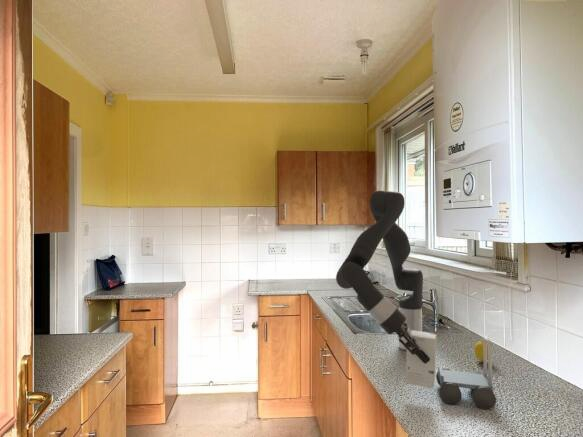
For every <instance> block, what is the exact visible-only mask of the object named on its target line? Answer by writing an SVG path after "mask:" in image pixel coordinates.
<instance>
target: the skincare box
mask: <svg viewBox="0 0 583 437" xmlns="http://www.w3.org/2000/svg"><path fill="white" fill-rule="evenodd" d="M408 335H409V334H408ZM411 335H412V336H413V337H414V339H415V340H416V341H417V344H418V346H419V347H420V348H421V349H422V350H423V351H424V352H425V354H426V355H427V356H428V357H429V358H430V361H428V362H427V363H426V364H424V363H423V362H422V361H421V360H420V359H419V358H418V356H417V355H416V354H414V355H413V354H411V352H410V351H409V350H408V349H407V351H406V352H405V353H406V357H405V358H406V359H405V379H404V380H405V381H404V382H405V384H407V385H413V386H419V387H424V388H428V389H434V386H435V378H436V372H435V371H436V355H437V354H436V353H437V350H436V349H437V333H432V332H427V331H423V330H422V331H414V330H411ZM411 341H413V340H412V338H411ZM412 348H413V349H414V348H415V347H414V346H412Z"/></svg>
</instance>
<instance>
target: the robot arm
mask: <svg viewBox="0 0 583 437" xmlns="http://www.w3.org/2000/svg"><path fill="white" fill-rule="evenodd" d="M369 208H370V211H371V214H372V216H373V219H374V221H375V223H374V224H372V225H371V226H369V227H367V229H365V230H364V231H362V233H360V235H359V236H358V237H357V238H356V240H355V242H354V244H353V246H352V247H351V249H350V251H349V254H348V255H347V256H346V258H345V259H344V261H343V262H342V265H341V266H340V267H339V269H338V271H337V272H336V275H335V280H336V283H337V285H338V286H339V287H340V288H341V289H346V290H347V289H348V290H349V289H353V290H354V292H355V293H356V295H357V296H356V299H357V301H358V303H359V304H360V305H361V306H362V307H363V308H364V309H365V310H366V311H367V312H368V314H369V315H370V316H371V318H372V319H373V320H374V321H376V323H377V324H378V325H379V326H380V327H381V328H382V329H383V331H384V332H386V334H387V335H392V334H394V333H395V334H396V335H397V338H398V346H399V349H401V350H403V351H406V352H407V349H408V350H409V351H410V352H411V354H413V355H414V354H416V355H417V356H418V358H419V359H420V360H421V361H422V362H423V363H424V364H426V363H427V362H428V361H430V358H429V357H428V356H427V355H426V354H425V352H424V351H423V350H422V349H421V348H420V347H419V346H418V344H417V341H416V340H415V339H414V337H413V336H412V335H411V330H414V331H422V332H423V288H424V286H423V285H424V276H423V271H422V270H421V269H418V268H416V269H415V268H404V267H403V265H404V264H405V261H406V260H408V257H409V256H410V254H411V249H412V248H411V244H410V240H409V236H408V235H407V232H405V231H404V229H403V228H402V227H400V226H399V224H397V223H396V222H397V221H398V219H399V218H400V216H401V215H402V213H403V212H404V208H405V197H404V195H403V194H402V193H401V192H398V191H389V190H374V191H373V192H372V193H371V195H370V198H369ZM382 240H383V245H384V247H385V250H386V253H387V256H388V258H389V259H388V260H389V262H390V265H391V268H392V269H391V270H392V274H393V280H394V284H395V287H396V288H397V289H398V290H401V291H408V292H412V294H411V295H410V296H407V297H403V298H402V297H401V298H400V299H399V301H398V307H397V306H395V304H393V302H392V301H391V300H390V299H388V298H387V297H386V296H385V295H384V294H383V293H382V292H381V291H380V290H379V289H378V288H377V287H376V286H375V284H374V282H373V281H372V280H371V278H370V277H369V275H368V273H367V272H366V270H365V269H364V268H365V267H366V266H367V265H368V263H370V261H371V260H372V258H373V255H374V254H375V252H376V251H377V248H378V246H379V245H380V243H381V241H382ZM408 334H409V335H408ZM411 338H412V340H413V341H411ZM412 346H414V347H415V348H414V349H413V348H412Z"/></svg>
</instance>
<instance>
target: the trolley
mask: <svg viewBox="0 0 583 437" xmlns="http://www.w3.org/2000/svg"><path fill="white" fill-rule="evenodd" d="M482 337H483V340H482V341H483V362H482V363H483V364H482V365H483V373H482V372H480V371H471V372H468V371H457V370H453V369H451V368H447V367H444V368H443V367H442V364H438V365H437V366H438V367H437V369H438V370H437V372H436V373H435V378H436V382H437V384H438V385H439V389H438V393H439V397H440V399H441V400H442V402H443V403H445V404H447V405H450V406H455V405H457V404H459V403H460V402H461V400H462V398H463V397H462V391H461V389H469V390H471V391H472V392H471V398H472V400H473V403H474V404H475V406H476V407H478V408H479V409H482V410H491V409H492V408H494V407H495V405H496V403H497V397H496V395H495V393H494V392H493V391H494V386H493V343H492V342H491V341H490V339H489V338H488V336H487V335H483V336H482ZM487 344H488V360H487ZM460 388H461V389H460Z"/></svg>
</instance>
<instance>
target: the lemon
mask: <svg viewBox="0 0 583 437" xmlns="http://www.w3.org/2000/svg"><path fill="white" fill-rule="evenodd" d="M474 355H475V357H476V358H477V359H478V360H479V361H481V363H483V340H481V341H479V342H476V344H475V346H474ZM487 361H488V343H487Z"/></svg>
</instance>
